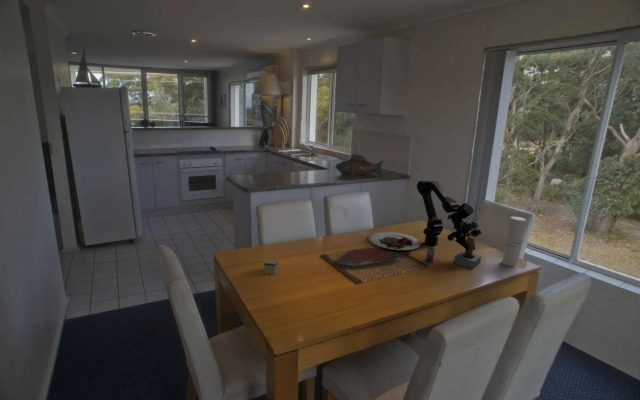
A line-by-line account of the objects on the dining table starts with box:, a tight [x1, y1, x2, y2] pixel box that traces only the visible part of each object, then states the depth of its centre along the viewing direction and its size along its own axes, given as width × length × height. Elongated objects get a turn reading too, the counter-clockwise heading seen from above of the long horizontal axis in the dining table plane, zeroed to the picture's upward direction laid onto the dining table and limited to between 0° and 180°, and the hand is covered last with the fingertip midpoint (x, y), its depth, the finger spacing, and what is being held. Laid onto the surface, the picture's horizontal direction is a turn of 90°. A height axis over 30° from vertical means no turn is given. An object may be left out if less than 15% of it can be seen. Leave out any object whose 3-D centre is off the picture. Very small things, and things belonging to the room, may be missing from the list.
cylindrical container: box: [501, 216, 527, 267], centre depth 191 cm, size 7×7×25 cm
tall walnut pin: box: [464, 236, 476, 259], centre depth 189 cm, size 4×4×13 cm
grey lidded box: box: [263, 257, 280, 275], centre depth 168 cm, size 10×9×6 cm
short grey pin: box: [425, 246, 435, 263], centre depth 190 cm, size 4×4×7 cm
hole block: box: [453, 250, 482, 270], centre depth 190 cm, size 10×10×4 cm
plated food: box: [368, 231, 421, 251], centre depth 215 cm, size 30×30×3 cm
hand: (471, 249), depth 187 cm, fingers closed on tall walnut pin, 4 cm apart
